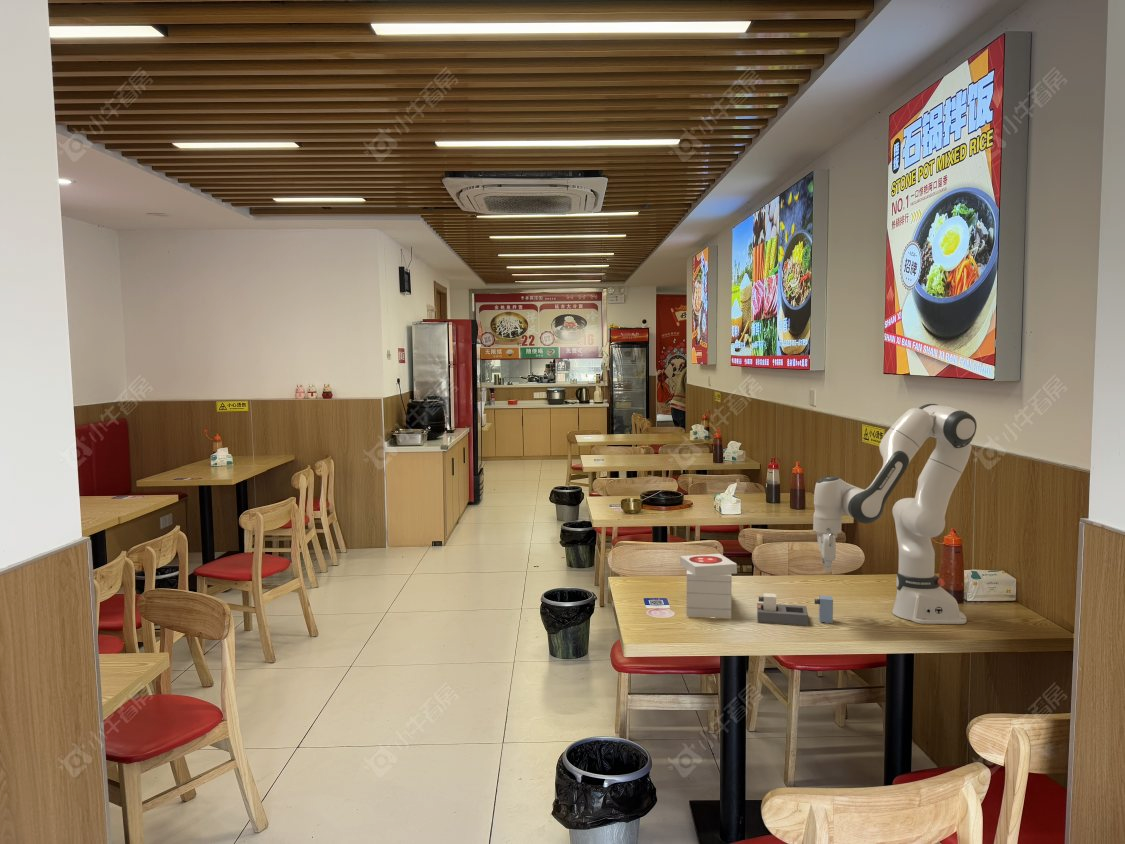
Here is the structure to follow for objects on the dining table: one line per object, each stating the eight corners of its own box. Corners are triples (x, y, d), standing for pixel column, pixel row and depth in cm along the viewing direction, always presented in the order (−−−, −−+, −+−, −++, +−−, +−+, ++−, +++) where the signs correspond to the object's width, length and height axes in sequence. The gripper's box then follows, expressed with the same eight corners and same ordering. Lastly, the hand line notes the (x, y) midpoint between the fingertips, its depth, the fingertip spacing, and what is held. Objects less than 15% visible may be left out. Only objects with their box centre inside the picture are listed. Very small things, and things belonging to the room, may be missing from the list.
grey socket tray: (805, 616, 260) (806, 604, 260) (808, 625, 250) (808, 614, 250) (757, 612, 264) (757, 601, 263) (757, 622, 254) (757, 610, 254)
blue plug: (831, 619, 256) (831, 596, 256) (832, 623, 252) (833, 599, 252) (813, 618, 257) (814, 595, 257) (814, 622, 254) (815, 598, 253)
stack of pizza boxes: (732, 595, 285) (733, 547, 283) (737, 621, 255) (737, 568, 254) (680, 592, 288) (680, 545, 287) (679, 618, 258) (679, 565, 257)
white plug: (775, 617, 259) (775, 593, 259) (775, 620, 256) (776, 597, 255) (758, 615, 261) (758, 592, 260) (758, 619, 257) (758, 596, 256)
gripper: (841, 533, 242) (839, 576, 243) (833, 520, 261) (832, 560, 262) (820, 532, 243) (818, 575, 244) (814, 519, 263) (813, 559, 264)
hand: (826, 567), depth 253 cm, fingers open, 8 cm apart
